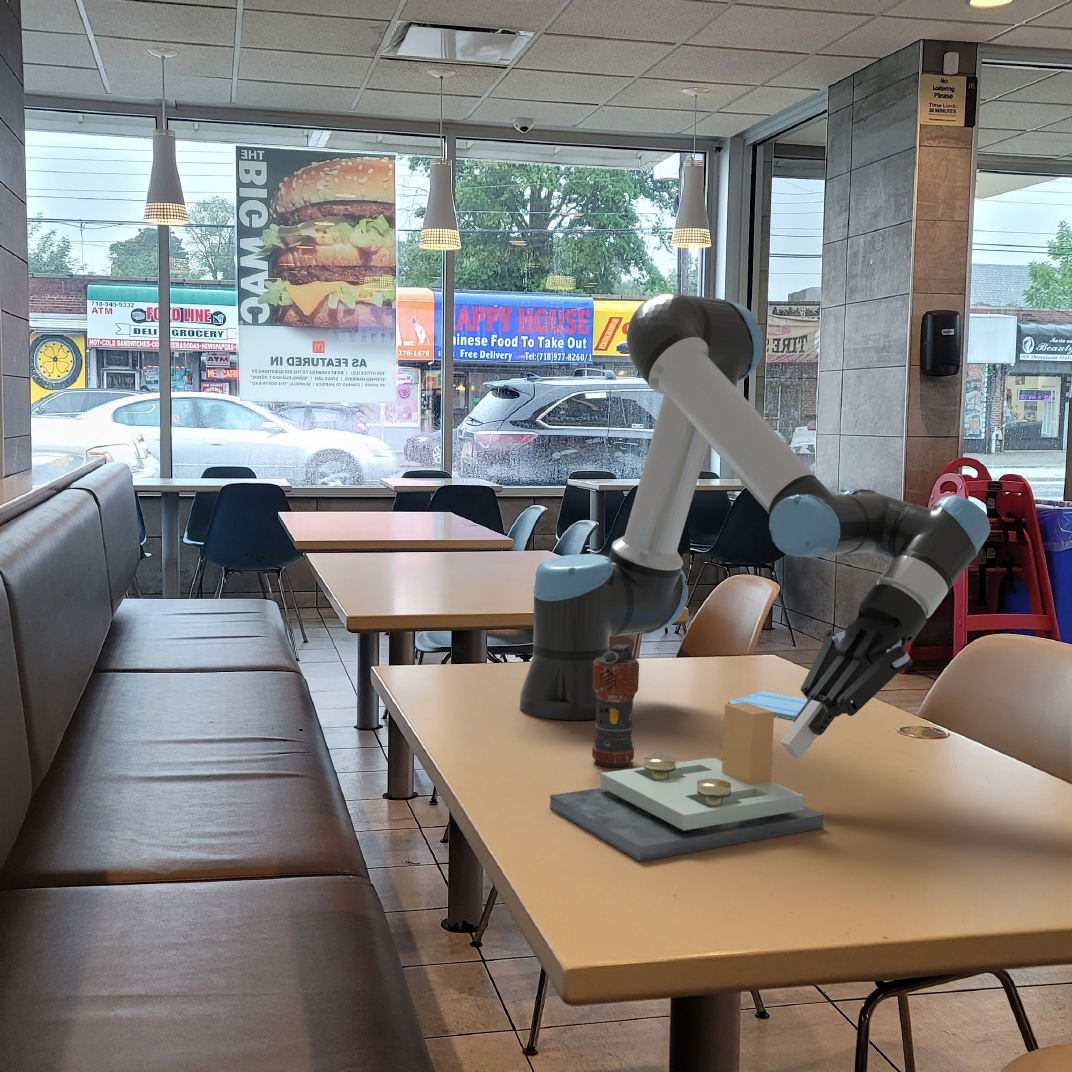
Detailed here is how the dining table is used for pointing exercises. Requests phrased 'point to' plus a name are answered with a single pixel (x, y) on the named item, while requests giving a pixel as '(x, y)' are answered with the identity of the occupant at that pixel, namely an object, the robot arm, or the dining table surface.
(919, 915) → the dining table surface
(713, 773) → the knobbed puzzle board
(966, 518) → the robot arm
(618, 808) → the mounting plate
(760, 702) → the light blue flat panel
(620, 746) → the grenade
